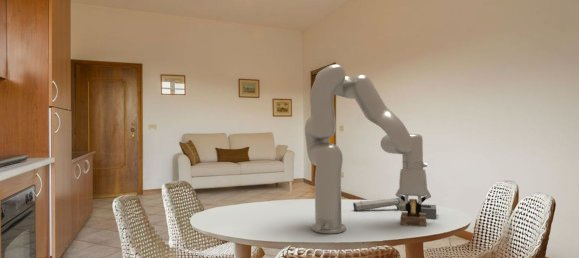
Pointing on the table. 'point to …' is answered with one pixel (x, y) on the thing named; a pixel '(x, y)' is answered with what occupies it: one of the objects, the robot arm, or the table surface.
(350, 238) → the table surface
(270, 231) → the table surface
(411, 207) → the brass pin
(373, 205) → the light grey piece
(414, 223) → the walnut mount
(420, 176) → the robot arm
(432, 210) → the charcoal dock
